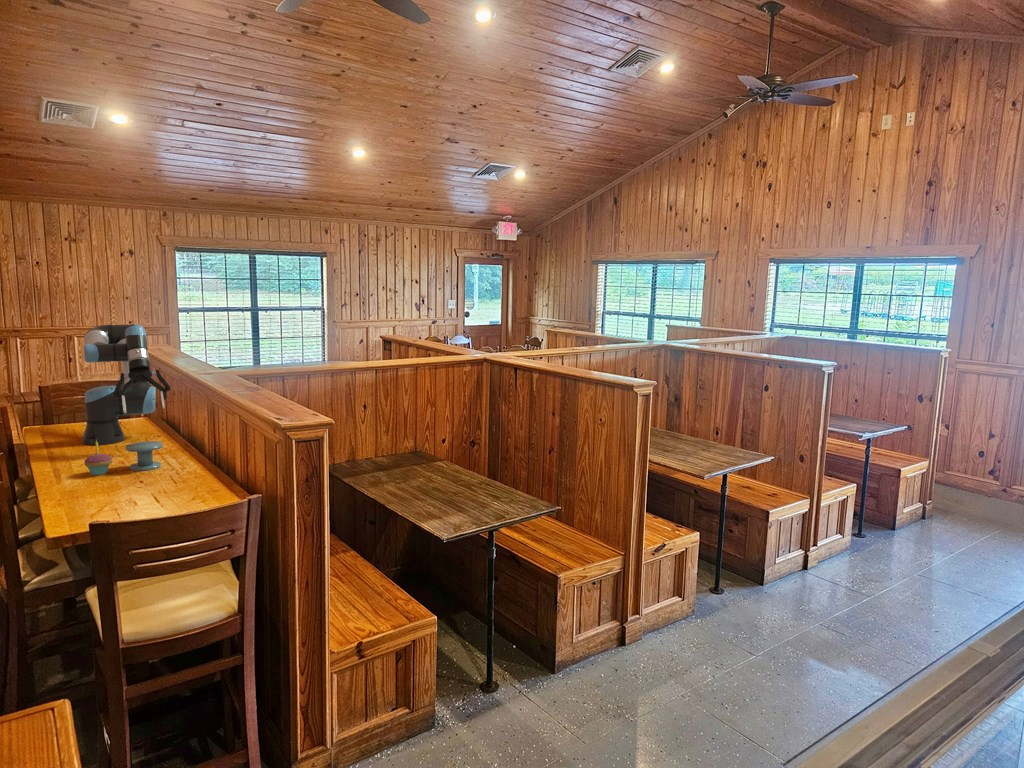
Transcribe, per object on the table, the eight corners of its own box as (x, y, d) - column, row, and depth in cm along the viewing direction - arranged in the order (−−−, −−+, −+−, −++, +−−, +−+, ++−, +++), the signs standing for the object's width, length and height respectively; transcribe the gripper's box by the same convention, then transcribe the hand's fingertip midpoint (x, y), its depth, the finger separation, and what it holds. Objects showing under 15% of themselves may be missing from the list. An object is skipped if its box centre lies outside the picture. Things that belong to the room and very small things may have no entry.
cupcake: (83, 472, 234) (81, 440, 232) (111, 468, 239) (108, 437, 238) (87, 478, 228) (84, 445, 226) (115, 474, 233) (113, 441, 231)
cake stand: (125, 465, 244) (123, 443, 242) (161, 461, 251) (159, 439, 249) (129, 473, 234) (127, 450, 233) (166, 468, 241) (165, 446, 240)
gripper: (101, 361, 257) (106, 410, 251) (172, 354, 269) (178, 401, 262) (104, 369, 264) (109, 417, 257) (173, 362, 275) (179, 408, 268)
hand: (144, 409), depth 259 cm, fingers open, 13 cm apart
